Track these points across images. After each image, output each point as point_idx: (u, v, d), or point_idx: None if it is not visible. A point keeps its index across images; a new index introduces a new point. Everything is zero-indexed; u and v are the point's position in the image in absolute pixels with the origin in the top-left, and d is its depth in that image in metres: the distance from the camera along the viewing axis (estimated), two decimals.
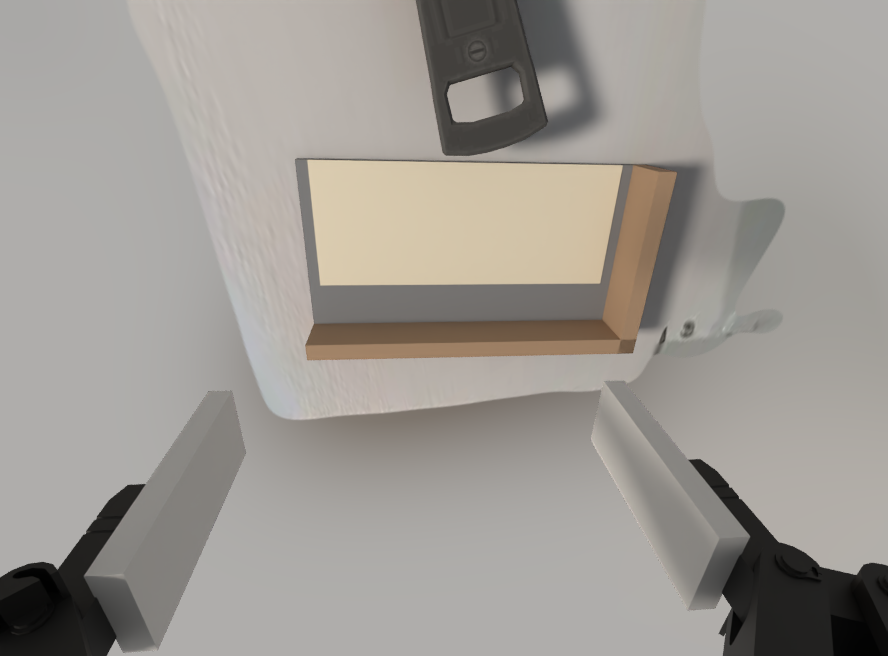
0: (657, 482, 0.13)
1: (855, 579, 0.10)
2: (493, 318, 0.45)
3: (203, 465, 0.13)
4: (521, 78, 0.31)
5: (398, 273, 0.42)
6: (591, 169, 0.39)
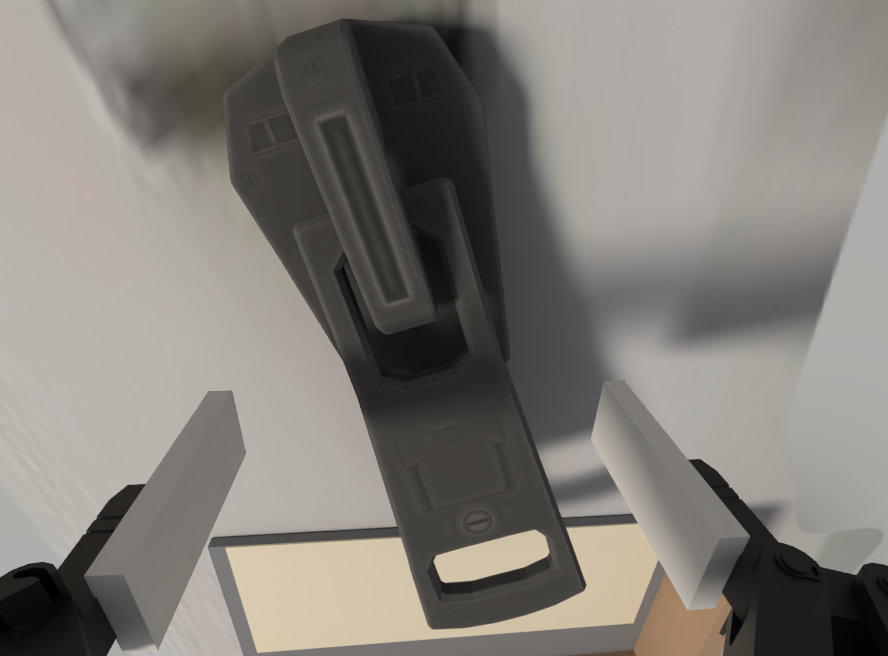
0: (657, 482, 0.13)
1: (855, 579, 0.10)
2: None
3: (203, 465, 0.13)
4: (546, 539, 0.20)
5: (364, 634, 0.31)
6: (629, 528, 0.28)
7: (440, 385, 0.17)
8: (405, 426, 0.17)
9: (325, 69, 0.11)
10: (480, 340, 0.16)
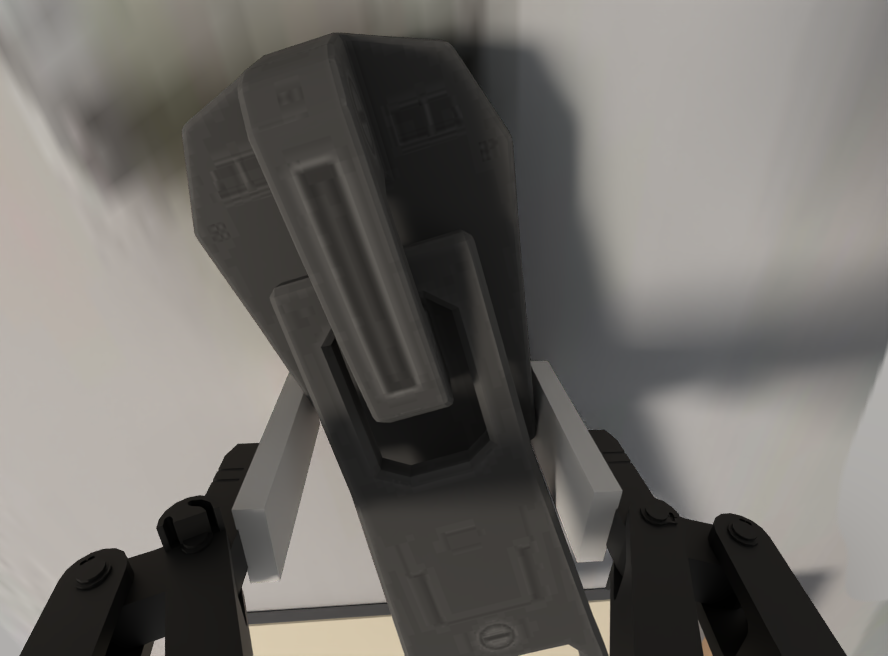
0: (559, 449, 0.14)
1: (711, 532, 0.11)
2: None
3: (299, 428, 0.14)
4: (579, 652, 0.17)
5: None
6: None
7: (454, 482, 0.13)
8: (410, 528, 0.14)
9: (306, 101, 0.08)
10: (505, 429, 0.13)
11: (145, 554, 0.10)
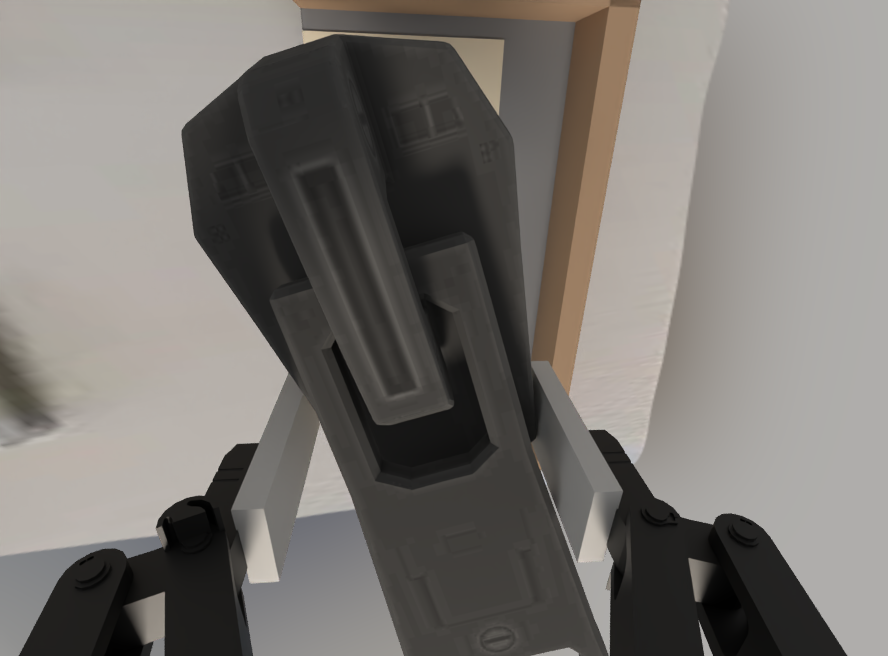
0: (560, 449, 0.14)
1: (711, 532, 0.11)
2: (545, 224, 0.30)
3: (299, 428, 0.14)
4: (580, 655, 0.16)
5: None
6: None
7: (455, 484, 0.13)
8: (410, 531, 0.14)
9: (306, 103, 0.08)
10: (505, 432, 0.13)
11: (145, 554, 0.10)
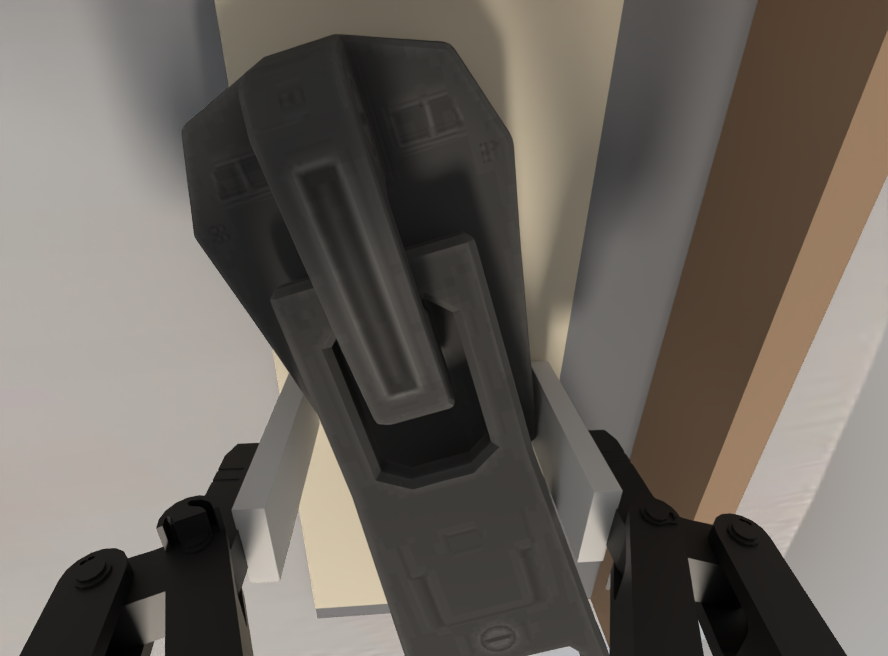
0: (559, 449, 0.14)
1: (711, 532, 0.11)
2: (664, 313, 0.17)
3: (299, 428, 0.14)
4: (580, 653, 0.16)
5: None
6: (240, 71, 0.12)
7: (455, 483, 0.13)
8: (411, 530, 0.14)
9: (308, 103, 0.08)
10: (506, 431, 0.13)
11: (145, 554, 0.10)
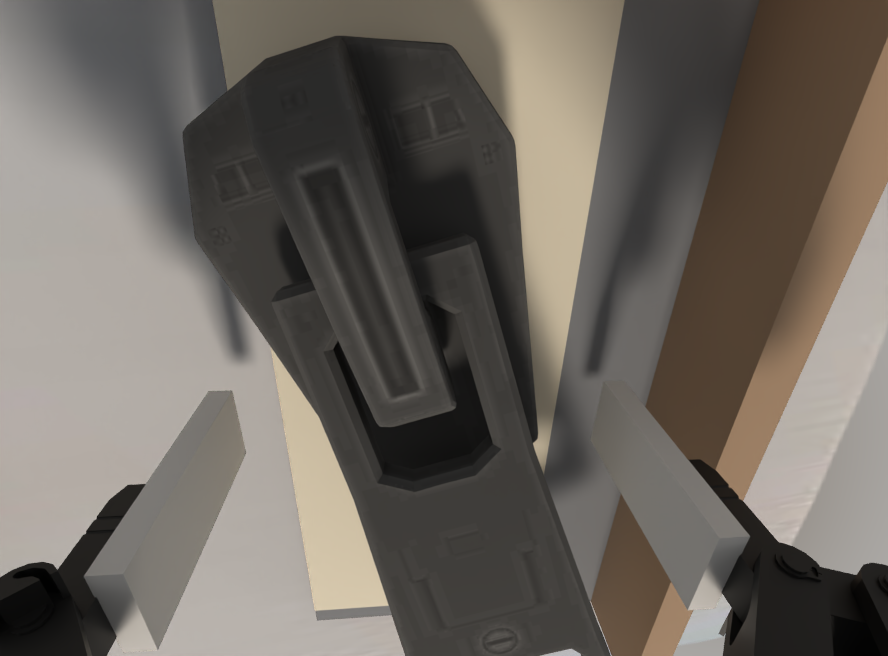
0: (657, 482, 0.13)
1: (855, 579, 0.10)
2: (664, 314, 0.17)
3: (203, 465, 0.13)
4: None
5: None
6: (239, 71, 0.12)
7: (457, 486, 0.13)
8: (412, 533, 0.14)
9: (310, 104, 0.08)
10: (508, 433, 0.13)
11: None
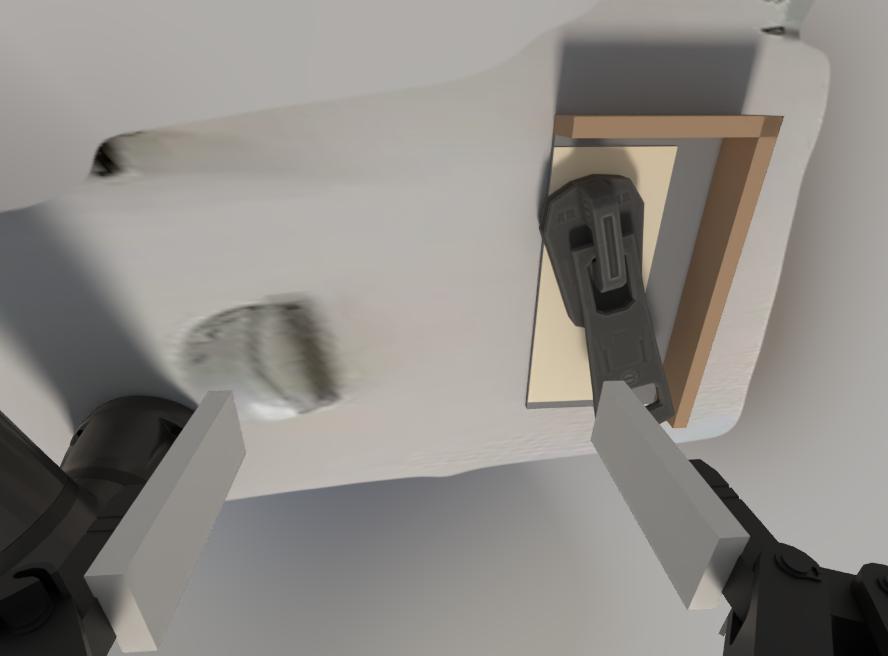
0: (657, 482, 0.13)
1: (855, 579, 0.10)
2: (688, 258, 0.44)
3: (203, 465, 0.13)
4: (657, 389, 0.44)
5: None
6: (555, 180, 0.40)
7: (620, 313, 0.41)
8: (604, 331, 0.41)
9: (608, 202, 0.36)
10: (639, 294, 0.40)
11: None
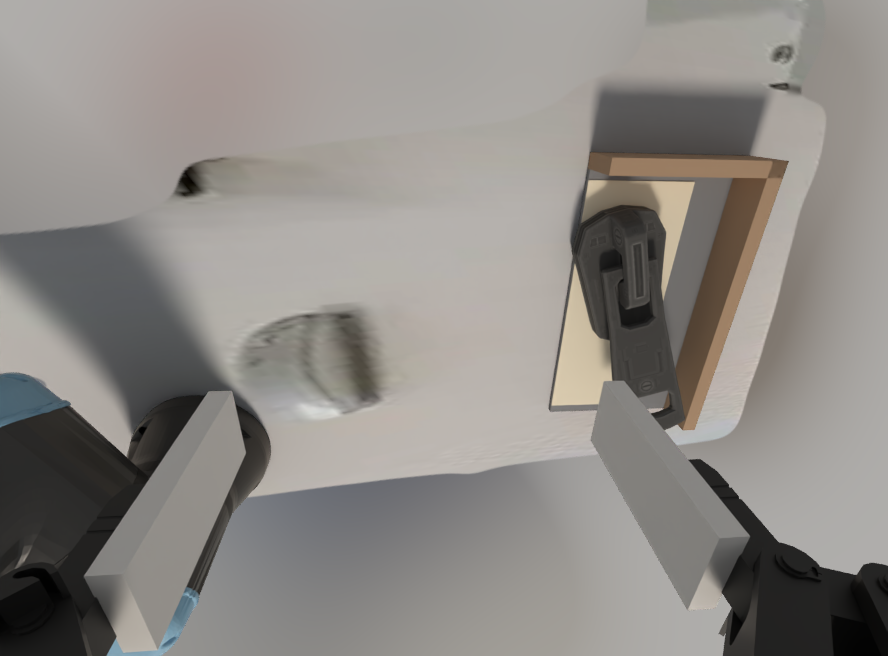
0: (657, 482, 0.13)
1: (855, 579, 0.10)
2: (700, 279, 0.49)
3: (203, 465, 0.13)
4: (670, 396, 0.49)
5: None
6: (587, 209, 0.45)
7: (642, 328, 0.46)
8: (627, 344, 0.46)
9: (638, 231, 0.41)
10: (659, 312, 0.45)
11: None
